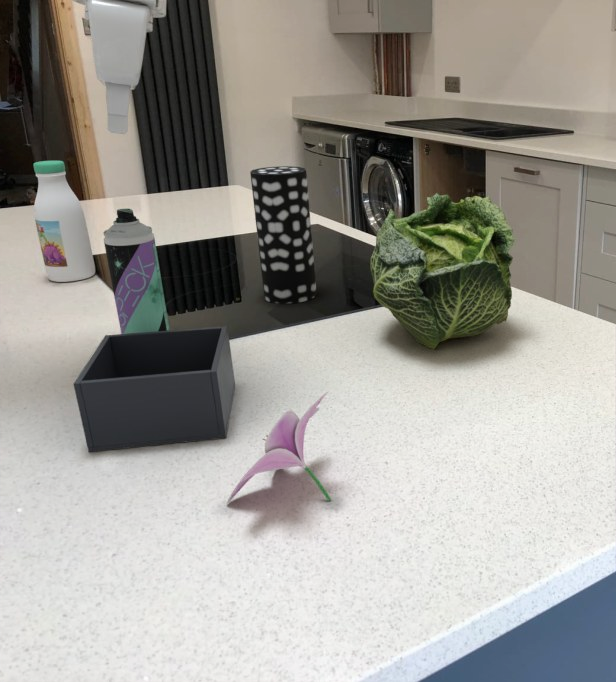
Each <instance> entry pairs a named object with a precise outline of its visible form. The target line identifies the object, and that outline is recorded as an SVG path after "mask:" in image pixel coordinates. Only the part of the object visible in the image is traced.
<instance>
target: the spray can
mask: <svg viewBox="0 0 616 682" xmlns="http://www.w3.org/2000/svg"><path fill="white" fill-rule="evenodd" d="M116 216H117V217H116V218H115V220H113V222H112V225H110V227H109V228H108V229H106V230H104V231H103V233H102V234H103V236H104V238H103V244H104V249H105V254H106V255H105V256H106V260H107V265H108V272H109V276H110V281H111V287H112V291H113V292H112V293H113V296H114V302H115V307H116V313H117V319H118V324H119V329H120V334H129V333H142V332H155V331H168V330H170V324H169V319H168V312H167V306H166V301H165V294H164V288H163V282H162V277H161V276H162V275H161V269H160V264H159V257H158V251H157V244H156V240H155V239H156V238H155V234H154V233H153V227H151V226H149V225H146V224H145V223H143V222H141V221H140V219H139V218H137V216H136V215H134V211H133V209H132V208H118V209H117V210H116Z"/></svg>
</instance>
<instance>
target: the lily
mask: <svg viewBox="0 0 616 682" xmlns="http://www.w3.org/2000/svg"><path fill="white" fill-rule="evenodd" d="M328 393H329V390H328V391H327V392H325V393H324V394H323V395H321V396H320V397H319V398H318V399H317V400H316V401H315V402H314V403H313V404H312V405H310V407H309V408H308V409H307V410H306V411H305V413H304V414H303V415H302V416H301V418H299V415H298V414H297V413H295V412H294V411H292V410H287V411H285V412H284V413H283V414H282V415H281V416H280V417H279V418H278V420H277V421H276V422H275V423H274V425H273V426H272V428H271V429H270V432H269V433H268V434H267V435H266V436H265V437H266V438H262V440H263V441H265V442H264V452H265V453H264V454H263V455H262V456H261V457H260V458H259V459H258V460H257V461H256V462H255V463H254V464H253V465H252V466H251V467H250V468H249V469H248V470H247V472H246V473H245V474H244V475H243V476H242V478H241V479H240V481H239V482H238V483H237V485H236V486H235V487H234V488H233V491H232V492H231V494H230V496H229V497H228V499H227V501H226V505H229V503H230V502H231V501H232V500H233V499H234V498H235V496H236V495H237V494H238V493H239V492H240V491H241V489H242V488H243V487H244V486H245V485H246V484H247V483H248V482H249V481H250V480H251V479H252V478H253V477H254V476H255V475H257V474H260V473H266V472H271V471H277V470H283V469H289V468H294V467H296V468H297V467H301V468H303V469H304V470H305V472H307V474H308V475H309V476H310V477H311V479H312V480H313V481H314V483H315V484H316V485H317V487H318V488H319V490H320V491H321V492H322V494H323V495H324V497H325V498H326V500H327V501H328V502H329V501H331V500H332V498H331V496H330V495H329V494H328V492H327V490H326V489H325V488H324V486H323V485H322V484H321V482H320V480H319V479H318V477H316V475H315V474H314V473H313V472H312V470H311V469H310V468H309V467H308V465H307V464H306V463H305V457H304V442H305V434H306V429H307V424H308V423H309V420H310V419H311V418H312V417H313V416H314V415H315V414H317V412H319V410H320V407H318V406H319V405H320V403H321V402H322V400H323V399H325V397H326V396H327V394H328Z"/></svg>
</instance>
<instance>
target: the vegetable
mask: <svg viewBox="0 0 616 682" xmlns="http://www.w3.org/2000/svg"><path fill="white" fill-rule="evenodd" d="M426 202H427V208H426V209H423V210H420V211H418V212H417V211H416V212H413V213H411V214H410V215H409V216H406V217H399V218H396V213H395V212H394V210H393V209H392V208H390V209H389V211H388V214H387V216H386V217H385V219H384V220H383V222H382V225H381V227H380V230H378V232H377V233H376V237H375V247H374V249H373V252H372V254H371V257H370V272H371V276H372V280H373V285H374V286H373V291H372V292H373V297H374V298H375V300H376V301H377V302H378V304H379V305H380V306H382V307H383V308H385V309H388V311H389V312H390V313H391V315H392V316H393V317H394V318H395V319H396V320H397V322H398V323H399V324H400V326H402V327H403V328H404V329H405V330H406V331H407V332H409V333H410V335H411V336H412V337H413V338H414V340H415V341H417V343H418V344H420V345H424V346H425V347H427V348H429V349H432V350H435V349H436V348H437V346H438V345H439V344H440V342H444V341H446V340H448V339H459V338H466V337H474V336H476V335H481V334H484V333H485V332H486V331H488V330H490V329H491V328H492V327H493V326H494V325H496V324H497V325H500V324H502V323H503V322H506V321H507V320H508V317H509V309H510V308H511V306H512V298H513V292H512V291H513V290H512V287H511V286H512V285H511V280H510V279H511V278H512V274H511V271H510V266H511V264H512V263H513V258H514V257H513V256H512V255H511V254H509V251H510V249H511V248H512V247H513V245H514V242H515V240H516V237H515V236H514V235H513V232H514V229H513V228H512V227H511V226H510V225H509V224H508V221H507V220H506V216H505V212H504V211H503V210H502V208H501V207H500V206H499V205H497V204H494V203H492V200H491V197H490V196H486V197H481V196H478V195H474V196H471V197H470V196H466V197H465V198H464V199H462V198H461V199H460V200H459V202H453V200H452V199H451V197H450V196H449V195H448V194H443V195H440V194H439V193H438V192H436V193H435V194H434V195H433V196H427V197H426Z"/></svg>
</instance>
